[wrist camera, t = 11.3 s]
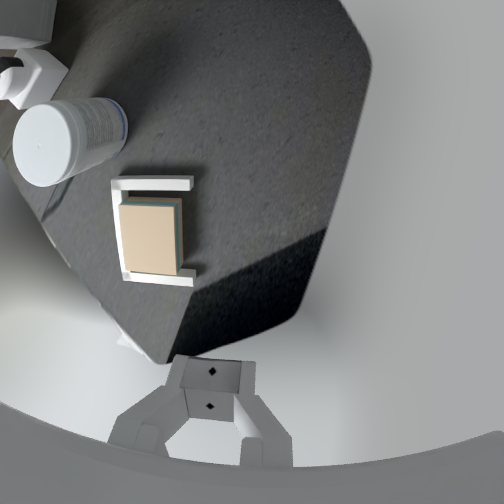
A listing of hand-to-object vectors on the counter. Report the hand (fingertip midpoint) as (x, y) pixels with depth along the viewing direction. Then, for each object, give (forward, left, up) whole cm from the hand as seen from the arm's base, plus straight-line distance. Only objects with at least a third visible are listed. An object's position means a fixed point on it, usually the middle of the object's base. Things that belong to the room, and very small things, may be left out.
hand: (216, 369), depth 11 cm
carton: (+8, -14, -33) cm, 37 cm away
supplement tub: (-7, -22, -33) cm, 40 cm away
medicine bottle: (-17, -33, -33) cm, 50 cm away
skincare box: (-27, -35, -33) cm, 55 cm away
